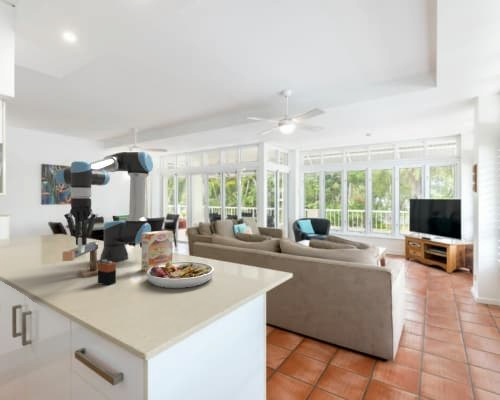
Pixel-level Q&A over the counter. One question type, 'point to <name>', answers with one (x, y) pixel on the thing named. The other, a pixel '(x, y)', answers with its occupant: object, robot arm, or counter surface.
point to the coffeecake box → (156, 248)
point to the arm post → (91, 266)
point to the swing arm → (74, 253)
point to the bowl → (180, 274)
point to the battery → (106, 272)
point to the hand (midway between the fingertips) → (81, 252)
